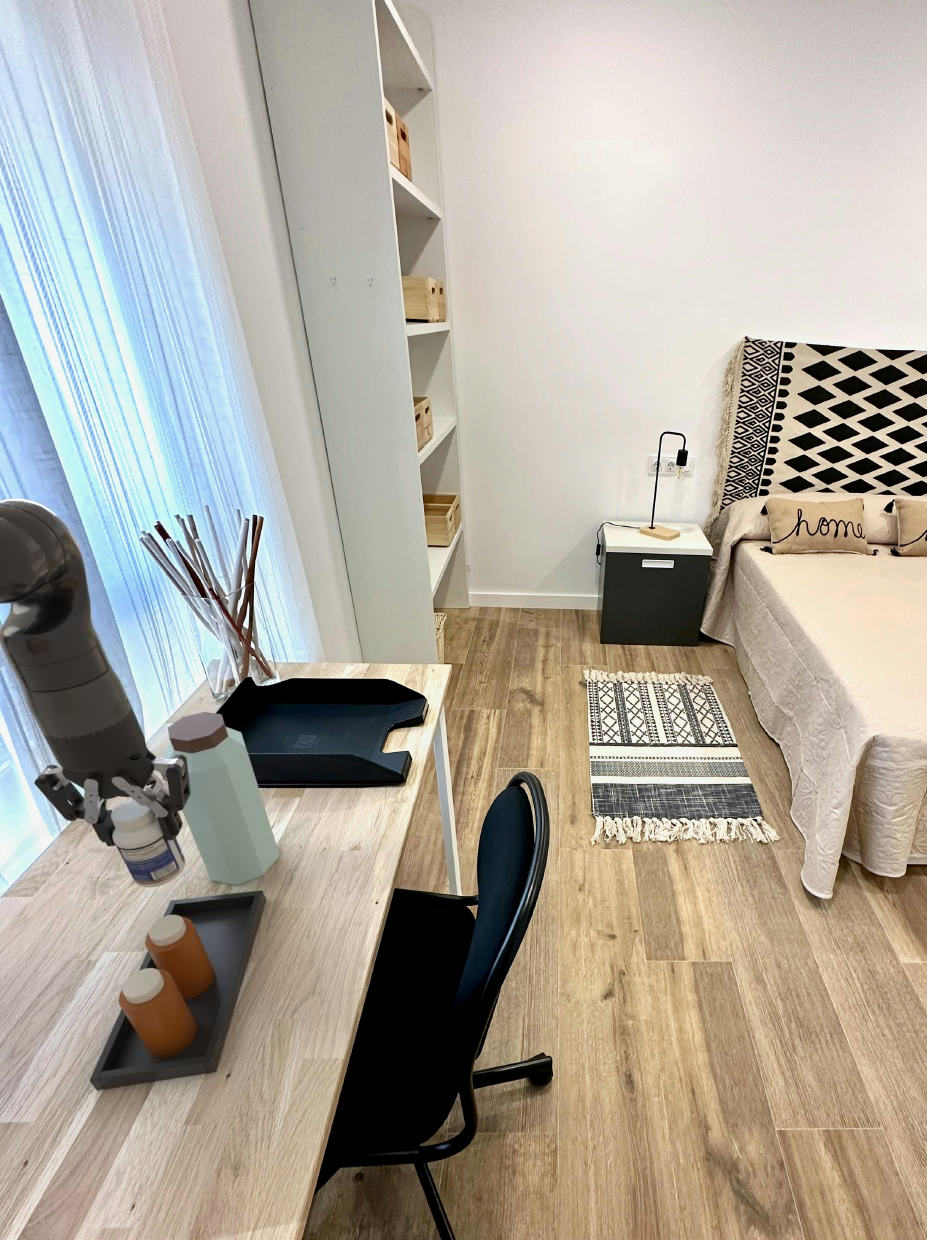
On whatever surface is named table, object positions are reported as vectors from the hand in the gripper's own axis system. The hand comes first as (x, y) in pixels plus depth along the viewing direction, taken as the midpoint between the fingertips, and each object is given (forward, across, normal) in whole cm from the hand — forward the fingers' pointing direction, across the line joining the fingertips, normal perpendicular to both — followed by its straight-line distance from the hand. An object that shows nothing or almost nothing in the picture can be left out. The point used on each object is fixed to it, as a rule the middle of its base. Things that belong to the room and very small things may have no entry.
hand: (144, 837), depth 71 cm
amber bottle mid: (+18, -2, +6) cm, 19 cm away
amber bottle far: (+18, -2, +13) cm, 23 cm away
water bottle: (+19, -3, -14) cm, 24 cm away
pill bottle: (+6, 0, 0) cm, 6 cm away
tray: (+19, -2, +6) cm, 20 cm away
